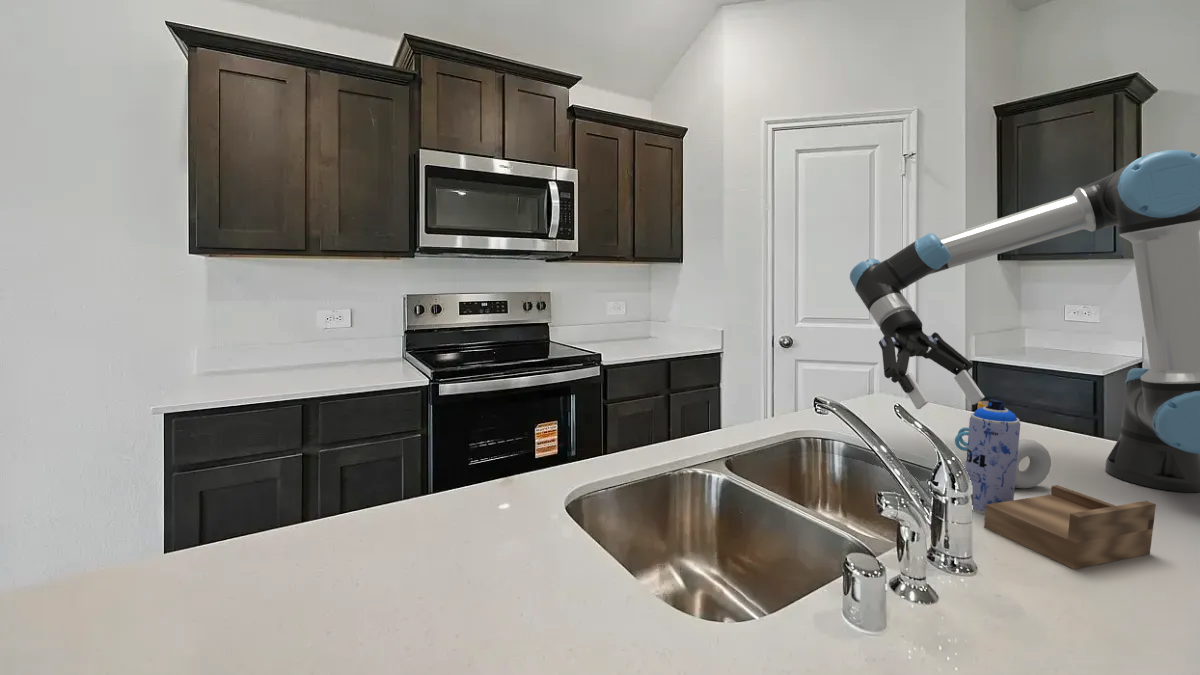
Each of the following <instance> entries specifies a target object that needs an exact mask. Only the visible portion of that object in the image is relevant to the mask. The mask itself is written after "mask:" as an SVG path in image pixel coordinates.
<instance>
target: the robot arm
mask: <svg viewBox="0 0 1200 675" xmlns="http://www.w3.org/2000/svg"><path fill="white" fill-rule="evenodd" d="M1116 226H1117V227H1118V234H1119V237H1121V238H1122V239H1124V240H1127V241H1129V242H1130V243H1131V245H1132V246H1131V247H1132V252H1133V261H1134V266H1135V272H1136V281H1137V288H1138V293H1139V300H1140V306H1141V307H1140V308H1141V314H1142V319H1143V320H1142V322H1143V325H1144V326H1143V327H1144V334H1145V341H1146V347H1147V354H1148V361H1149V368H1143V367H1142V368H1139V367H1135V368H1134V367H1133V368H1131V369H1129V371H1128V372H1127V375H1126V379H1125V381H1124V385H1125V388H1124V396H1123V397H1124V398H1123V407H1122V416H1121V424H1120V433H1119V438H1118V439H1117V441H1116V443H1115V444H1114V446H1113V448H1112V449H1111V451H1110V453H1109V455H1108V456H1107V458H1106V460H1105V471H1106V473H1108V474H1109V475H1111V476H1113V477H1115V478H1116V479H1120V480H1122V481H1125V482H1128V483H1132V484H1136V485H1140V486H1144V487H1147V488H1153V489H1159V490H1165V491H1171V492H1172V491H1173V492H1178V493H1179V492H1180V493H1181V492H1182V493H1199V492H1200V155H1199V154H1196V152H1195V153H1194V152H1192V151H1188V150H1183V149H1167V150H1161V151H1157V152H1152V153H1150V154H1146V155H1142V156H1141V157H1139V158H1136V159H1135V160H1133V161H1132V162H1130V164H1127V165H1125V166H1123V167H1121V168H1120V169H1118V170H1115V171H1114V172H1113V173H1110V174H1108V175H1107V176H1105V177H1103V178H1101V179H1098V180H1096V181H1094V182H1091V183H1089V184H1086V185H1082V186H1080V187H1077V188H1076V189H1075V190H1074V191H1073V193H1072V194H1070V195H1068V196H1064V197H1061V198H1059V199H1055V200H1052V201H1050V202H1049V201H1048V202H1045V203H1043V204H1040V205H1036V206H1032V207H1031V208H1027V209H1024V210H1021V211H1018V212H1015V213H1011V214H1009V215H1006V216H1002V217H1000V218H996V219H994V220H990V221H988V222H985V223H981V224H978V225H975V226H972V227H969V228H966V229H962V230H959V231H956V232H953V233H950V234H947V235H944V236H941V237H938V236H937V235H936V234H935V233H932V232H930V233H929V232H928V233H927V234H926V235H923V236H922V237H919V238H917V239H916V240H915V241H913V242H912V243H910V244H908V245H907V246H906V247H903V249H901V250H900V251H898V252H896V253H895V254H893V255H891V256H890V257H889V258H887V259H885V260H882V261H880V260H878V259H876V258H868V259H867V260H865V261H864V260H862V261H861V262H859V263H857V264H856V265H855V266H853V268H852V269H851V271H850V274H849V280H850V281H851V282H850V283H851V284H852V285H853V288H854V290H855V293H856V294H857V295H858V297H859V298H860V300H861V302H862V303H863V304H864V306H865V307H866V309H867V310H868V312H869V313H870V315H871V317H872V318H873V319H874V321H875V323H876V324H877V326H878V327H879V329H880V331H881V333H882V335H883V337H881V339H880V340H879V341H878V345H879V346H880V348H881V352H882V364H883V365H882V366H883V374H884V377H885V378H886V379H890V380H891V382H893V383H897V382H898V384H899V385H900V387H901V389H902V391H903V393H905V394H907V396H908V397H909V399H910V401H911V402H912V404H913V405H914V407H915V408H916V410H921V409H922V408H923V407H924V406H926V405H927V404H928V403H929V402H930V401H929V399H928V397H927V396H926V395H925V393H924V391H923V390H922V388H921V387H920V385H919V384H918V382H917V381H916V379H915V377H914V375H913V374H912V373H907V372H908V367H909V361H910V358H913V357H922V358H924V359H928V360H929V359H930V360H931V361H933V362H934V363H936V364H937V365H939V366H940V367H942V368H943V369H945V370H947V371H949V372H950V373H952V374H954V375H955V376H954V377H953V379H954V380H955V382H956V383H957V385H958V386H959V388H960V389H961V390H962V392H963V393H964V395H965V396H966V398H967V399H968V401H969V402H970V404H971V405H977V404H978V402H980V401H982V400H983V399H985V395H984V394H983V392H982V391H981V390H980V388H979V387H978V385H977V382H976V381H975V380H974V378H973V377H972V375H971V374H970V372H969V371H970V370H971V369H972V368H973V367H974V364H973V363H972V362H971V361H970V360H968V359H967V358H966V357H964V355H962V354H961V353H960V352H959V351H957V350H956V349H955V348H954V347H952V346H951V345H950V344H949V343H947V342H946V341H945V340H944V339H943V338H942V337H941V335H940V334H939V333H937V332H933V333H932V334H931V335H927V334H925V332H923V323H922V321H921V319H920V317H918V315H917V313H916V312H915V311H914V310H913V307H912V306H911V305H910V303H909V302H908V300H907V298H906V297H905V296H904V294H903V293H902V292H901V291H902V290H904V289H906V288H908V287H909V286H911V285H912V284H914V283H917V281H919V280H921V279H923V278H926V277H927V276H929V275H932V274H936V273H939V272H942V271H946V270H947V269H948V270H949V269H952V268H955V267H959V266H962V265H965V264H968V263H972V262H975V261H979V260H982V259H986V258H989V257H992V256H995V255H999V254H1002V253H1007V252H1010V251H1014V250H1016V249H1017V250H1018V249H1021V248H1023V247H1026V246H1030V245H1034V244H1037V243H1040V242H1045V241H1048V240H1050V239H1054V238H1058V237H1061V236H1064V235H1068V234H1072V233H1075V232H1078V231H1082V230H1084V231H1085V230H1086V231H1089V232H1095V231H1099V230H1103V229H1107V228H1110V227H1116ZM929 348H930V349H929ZM896 350H897V354H896Z"/></svg>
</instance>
